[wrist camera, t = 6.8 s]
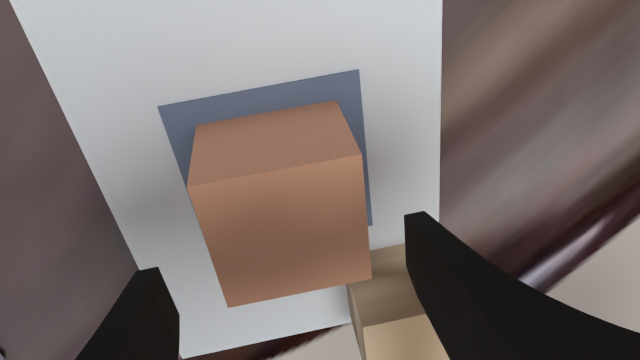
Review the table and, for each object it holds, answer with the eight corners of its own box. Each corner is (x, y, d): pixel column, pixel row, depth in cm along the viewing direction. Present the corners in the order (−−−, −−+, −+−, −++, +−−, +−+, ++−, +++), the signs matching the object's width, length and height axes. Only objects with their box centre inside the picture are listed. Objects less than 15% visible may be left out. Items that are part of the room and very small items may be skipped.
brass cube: (350, 315, 23) (370, 388, 20) (341, 256, 21) (362, 327, 17) (428, 298, 23) (460, 368, 20) (427, 238, 21) (464, 305, 18)
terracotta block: (229, 233, 19) (227, 308, 16) (196, 124, 16) (186, 187, 13) (348, 210, 19) (371, 278, 16) (335, 99, 16) (361, 154, 13)
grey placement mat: (183, 350, 23) (182, 360, 23) (-41, -125, 12) (-53, -125, 12) (434, 296, 24) (438, 305, 23) (438, -198, 13) (446, -201, 12)
